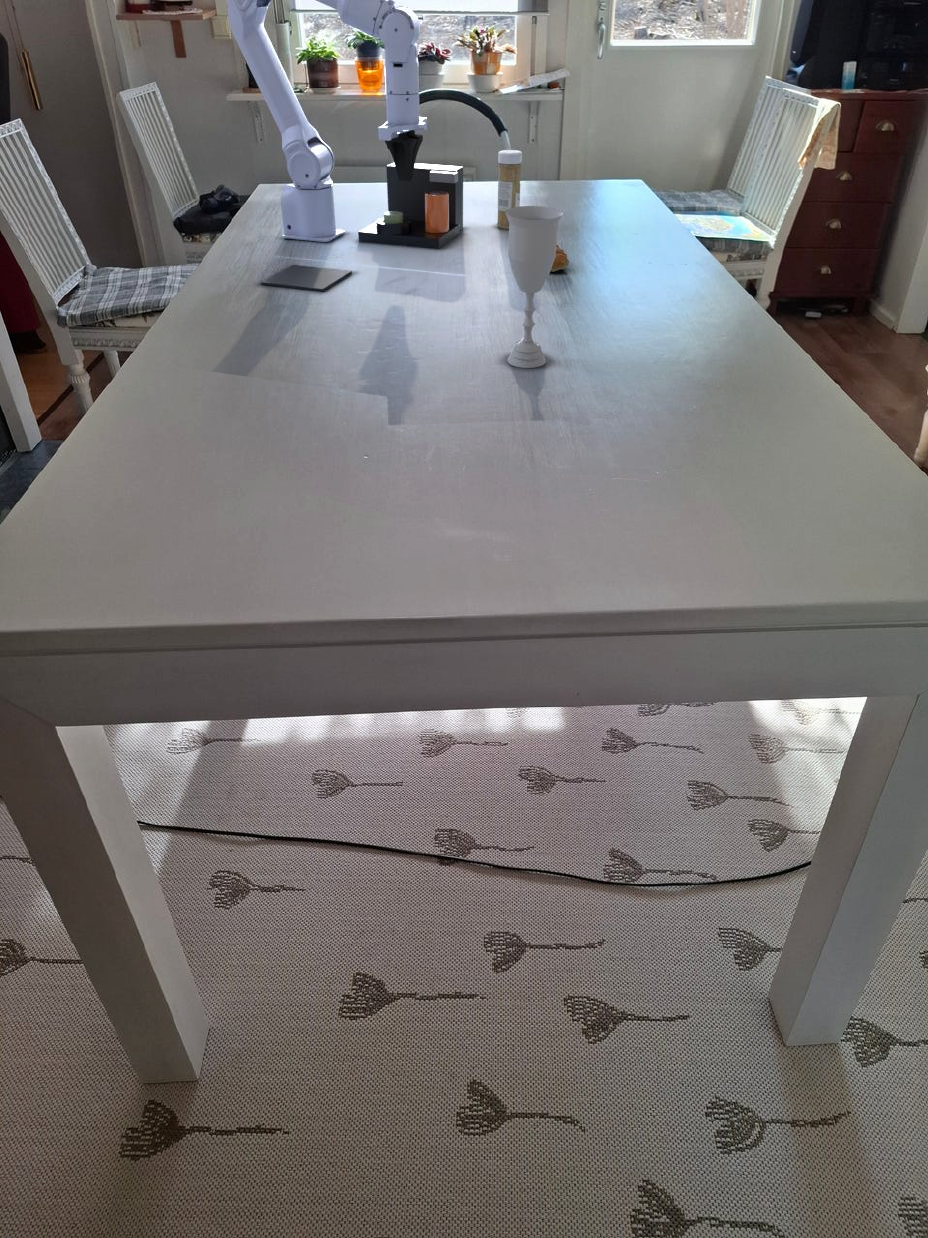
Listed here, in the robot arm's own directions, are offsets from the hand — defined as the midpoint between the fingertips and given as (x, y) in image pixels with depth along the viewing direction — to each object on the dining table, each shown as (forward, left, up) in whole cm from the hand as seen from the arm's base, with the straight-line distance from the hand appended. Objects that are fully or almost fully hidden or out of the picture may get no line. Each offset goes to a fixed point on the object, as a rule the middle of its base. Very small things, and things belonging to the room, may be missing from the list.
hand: (405, 179), depth 157 cm
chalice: (+38, -53, -11) cm, 66 cm away
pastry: (+29, -8, -11) cm, 32 cm away
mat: (-6, -29, -10) cm, 31 cm away
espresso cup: (+5, +2, -9) cm, 10 cm away
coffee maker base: (0, +2, -10) cm, 11 cm away
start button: (-2, -1, -7) cm, 8 cm away
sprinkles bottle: (+15, +17, -11) cm, 25 cm away
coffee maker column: (0, +10, -10) cm, 14 cm away
